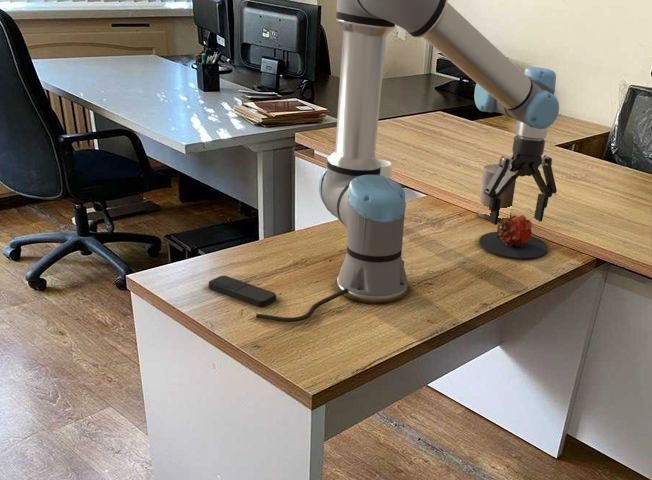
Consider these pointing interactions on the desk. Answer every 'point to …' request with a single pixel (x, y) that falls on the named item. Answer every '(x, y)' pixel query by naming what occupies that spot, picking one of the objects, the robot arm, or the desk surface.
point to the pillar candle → (505, 196)
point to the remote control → (242, 291)
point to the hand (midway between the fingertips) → (515, 221)
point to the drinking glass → (386, 168)
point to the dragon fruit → (514, 230)
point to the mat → (513, 247)
